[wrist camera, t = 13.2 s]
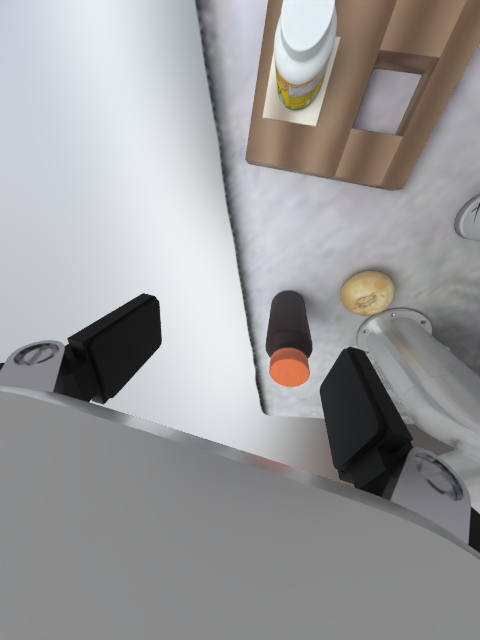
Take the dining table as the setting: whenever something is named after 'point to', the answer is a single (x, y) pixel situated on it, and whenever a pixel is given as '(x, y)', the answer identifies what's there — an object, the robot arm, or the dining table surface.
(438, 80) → the socket board
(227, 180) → the dining table surface
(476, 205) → the travel mug
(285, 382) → the vinegar
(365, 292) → the onion
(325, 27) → the supplement bottle
